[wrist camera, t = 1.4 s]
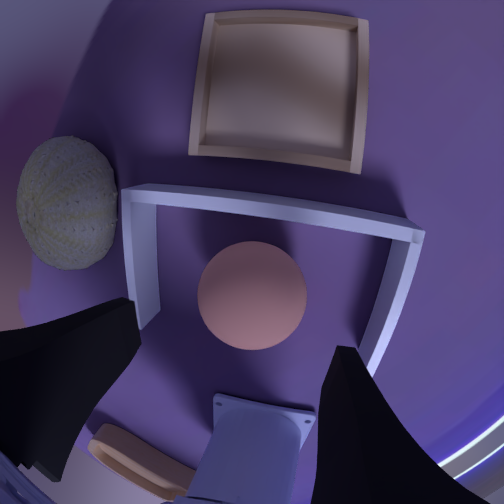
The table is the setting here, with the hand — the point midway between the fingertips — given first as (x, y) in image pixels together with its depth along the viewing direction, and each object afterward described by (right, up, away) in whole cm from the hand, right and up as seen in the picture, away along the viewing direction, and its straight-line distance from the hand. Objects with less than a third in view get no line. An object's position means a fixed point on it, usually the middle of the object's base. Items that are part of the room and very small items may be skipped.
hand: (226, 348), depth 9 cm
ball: (+1, +2, +6) cm, 7 cm away
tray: (+2, +11, +3) cm, 12 cm away
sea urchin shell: (-11, +7, +8) cm, 15 cm away
